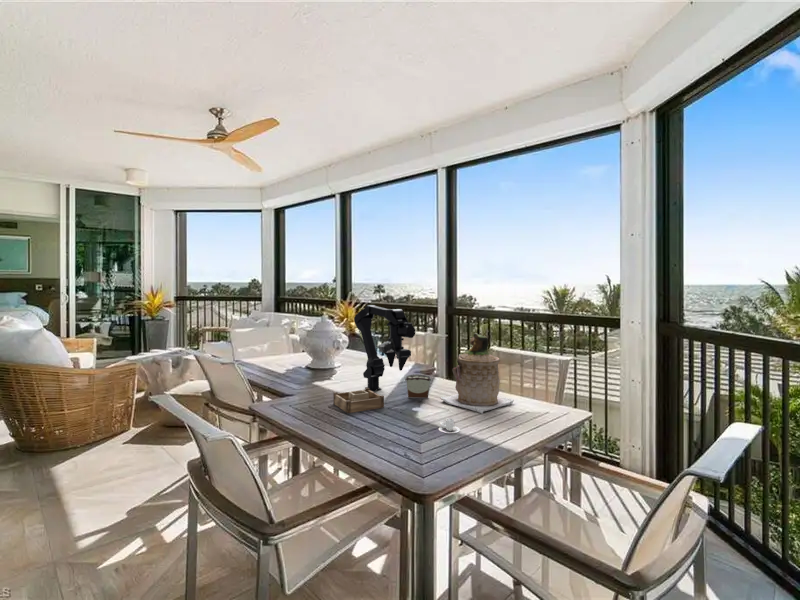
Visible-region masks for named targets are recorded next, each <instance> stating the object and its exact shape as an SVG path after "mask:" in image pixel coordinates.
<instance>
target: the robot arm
mask: <svg viewBox="0 0 800 600" xmlns="http://www.w3.org/2000/svg"><path fill="white" fill-rule="evenodd" d="M375 316H379V317H383V318H385V319H386V321H388V323H387V324H386V326H389V337H387V341H384V342H383V343H380V344H378V346H377V347H378V349H379V352H380V353H382V354H384V355H385V356H386V358H387V362H388V364H389V367H390V368H392V367H394V366H393V365H394V364H395V363H394V361H395V359H397V361H398V369H399V371H403V369H404V366H405V364H406V362H407V361H408V359H409V358H410V357H411V356H412V351H411V350H410V349H408V348H405V347H404V346H403V341H405V339H404V338H408V339H412V338H414V337H415V335H416V328H415V327H414V326H413V322H409V320H408V318H407V317H406V314H405V312H404V310H403V309H402V308H396V309H395V308H392V309H391V308H385V307H383V306H382V307H381V306H377V305H375V304H371V305H366V306H364V308H362V309H361V310H360V311H358V312H357V313H356V314H355V315H354V317H353V318H354V319H353V322H354V324H355V328H357V329H358V330H359V331H360V334H361V337H362V342H363V345H364V348H365V349H364V350H365V352H366V353H365V354H366V356H367V360H366V363H365V365H366V369H365V370H364V371H363V373H362V374H363V378H365V379H367V386H366V387H365V386H364V389H365V388H369V390H371V391H373V392H374V391H381V390H383V388H382V387H380V377H383V375H384V371H385V366H386V365H385V363H384V359H383V358H380V357H379V356H378V352H377V350H376V349H377V348H376V345H375V342H374V338H373V334H372V331H371V327H372V324H373V322H372V320H373V319H374V317H375Z"/></svg>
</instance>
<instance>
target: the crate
mask: <svg viewBox="0 0 800 600" xmlns="http://www.w3.org/2000/svg"><path fill="white" fill-rule="evenodd" d="M363 390H364V391H366V392H368V393H369V399H365V400H359V401H352V402H351V401H350V400H348V392H349V391H345V392H336V391H334V392H333V405H335V406H336V407H338V408H340V409H341V410H342V411H344V412H345V413H347V414H351V413H357V412H358V413H359V412H363V411H371V410H377V409H383V408H385V395H383V394H382V395H381V394H379V393H376V392H374V391H371V390H369V388H365V387H364V389H363Z"/></svg>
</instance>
